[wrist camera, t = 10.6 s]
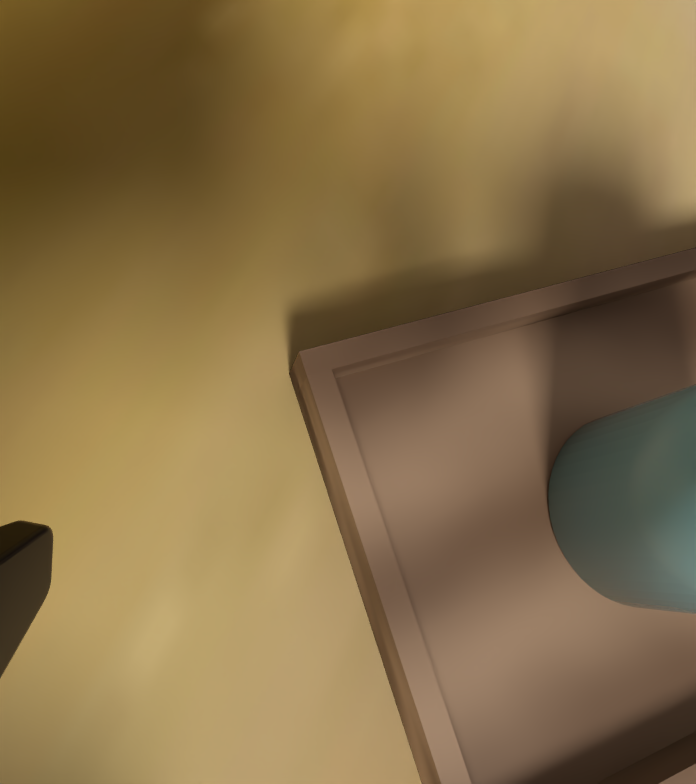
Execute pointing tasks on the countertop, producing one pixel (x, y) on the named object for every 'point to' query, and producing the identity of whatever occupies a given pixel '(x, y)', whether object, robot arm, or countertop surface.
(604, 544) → the cup
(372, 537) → the tray
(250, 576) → the countertop surface
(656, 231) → the countertop surface
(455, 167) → the countertop surface
